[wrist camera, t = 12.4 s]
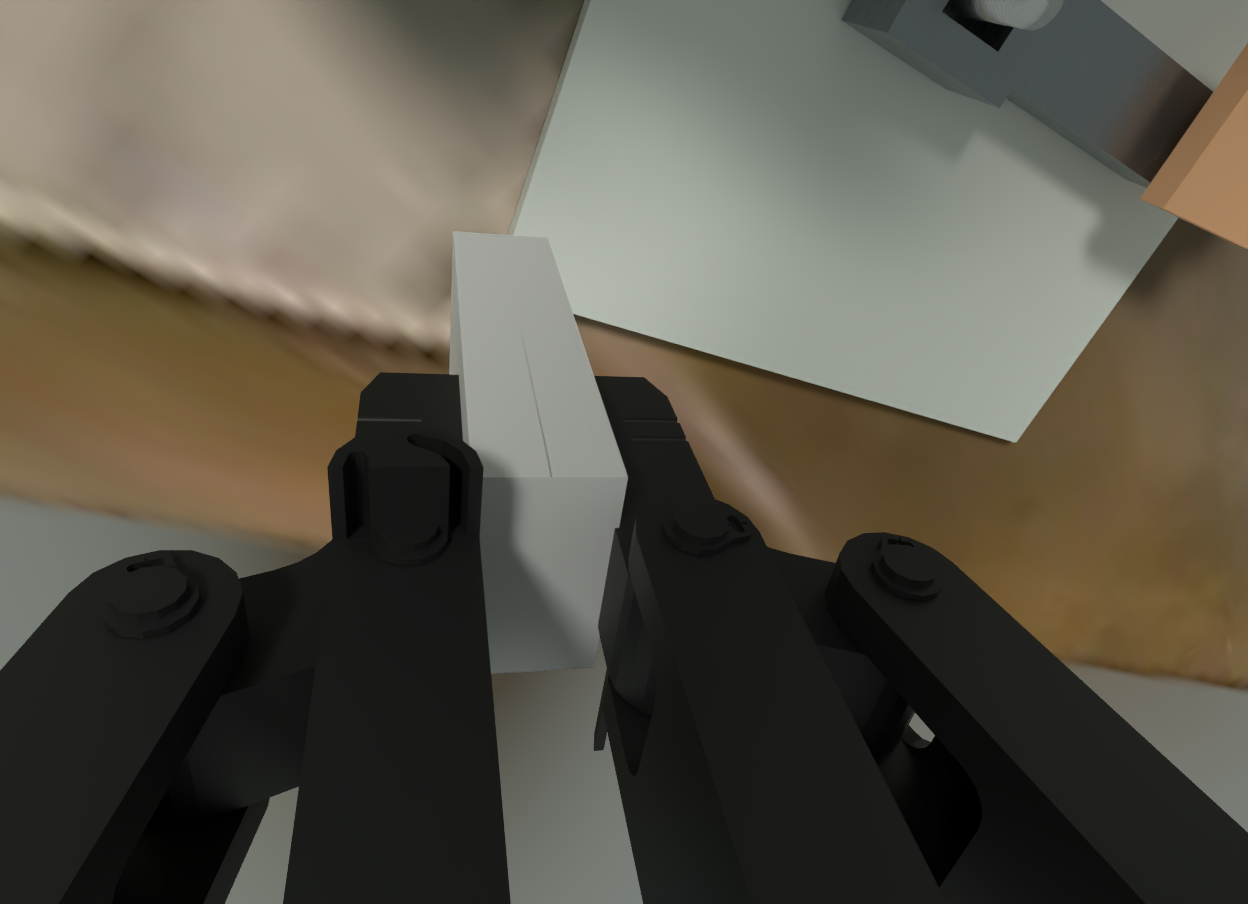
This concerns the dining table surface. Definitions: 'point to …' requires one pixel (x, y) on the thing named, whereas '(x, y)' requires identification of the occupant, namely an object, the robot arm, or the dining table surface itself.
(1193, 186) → the keeper
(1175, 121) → the link
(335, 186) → the dining table surface
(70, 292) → the dining table surface
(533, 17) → the dining table surface
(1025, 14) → the cylinder
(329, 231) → the dining table surface
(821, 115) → the board
